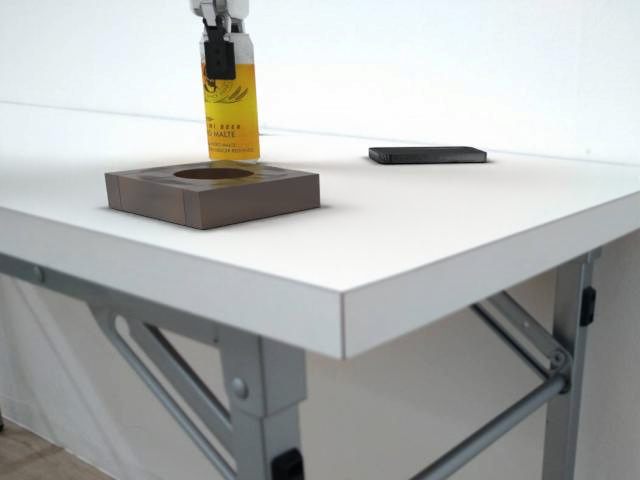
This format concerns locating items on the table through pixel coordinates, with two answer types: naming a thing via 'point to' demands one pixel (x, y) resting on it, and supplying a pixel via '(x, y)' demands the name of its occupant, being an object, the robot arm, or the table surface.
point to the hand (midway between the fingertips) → (229, 77)
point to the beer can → (232, 107)
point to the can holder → (212, 192)
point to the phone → (427, 154)
